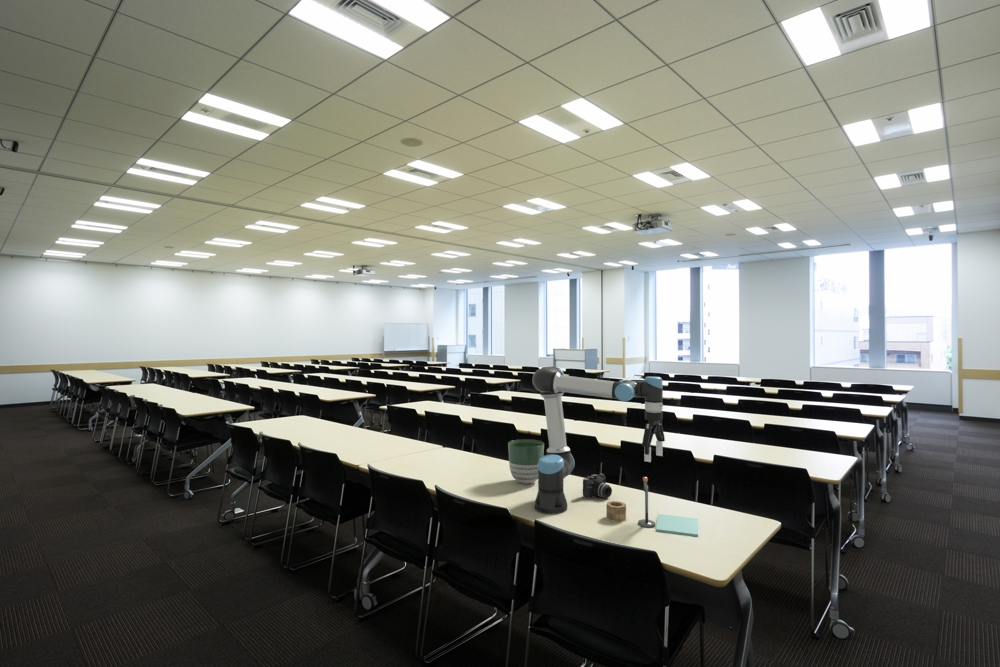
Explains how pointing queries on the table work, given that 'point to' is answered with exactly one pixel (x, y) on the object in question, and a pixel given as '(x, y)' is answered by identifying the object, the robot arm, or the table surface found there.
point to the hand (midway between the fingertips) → (653, 458)
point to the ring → (616, 511)
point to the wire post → (646, 508)
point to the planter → (525, 459)
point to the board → (677, 525)
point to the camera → (596, 486)
